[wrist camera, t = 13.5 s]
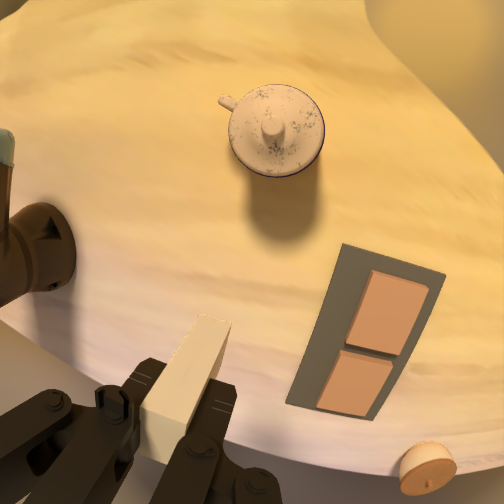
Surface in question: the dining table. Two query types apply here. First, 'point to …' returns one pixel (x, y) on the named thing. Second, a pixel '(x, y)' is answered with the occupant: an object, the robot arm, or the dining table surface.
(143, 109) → the dining table surface
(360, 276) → the mat
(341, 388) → the tile far
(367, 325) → the tile near
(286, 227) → the dining table surface
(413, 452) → the lidded jar
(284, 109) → the teacup with lid
